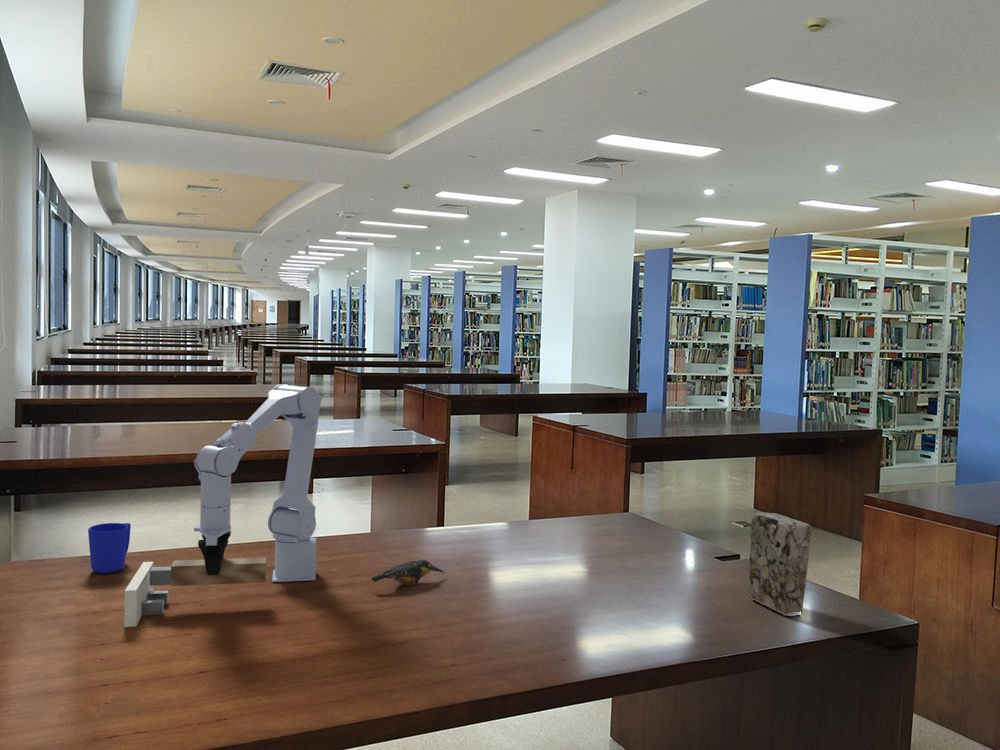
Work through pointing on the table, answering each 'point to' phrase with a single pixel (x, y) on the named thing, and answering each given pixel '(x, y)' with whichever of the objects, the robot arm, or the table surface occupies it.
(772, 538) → the stone block
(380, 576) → the bird model
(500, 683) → the table surface
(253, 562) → the walnut rail
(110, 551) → the mug
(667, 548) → the table surface
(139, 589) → the post
